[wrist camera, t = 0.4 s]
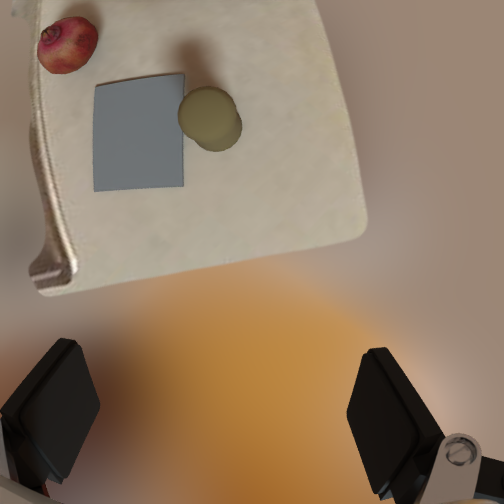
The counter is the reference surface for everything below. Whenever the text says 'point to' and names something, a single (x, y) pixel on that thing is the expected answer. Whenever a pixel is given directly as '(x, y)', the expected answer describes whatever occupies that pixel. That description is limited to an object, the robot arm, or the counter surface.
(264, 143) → the counter surface
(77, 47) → the fruit
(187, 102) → the olive brown rounded cylinder
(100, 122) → the grey mat
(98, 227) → the counter surface
